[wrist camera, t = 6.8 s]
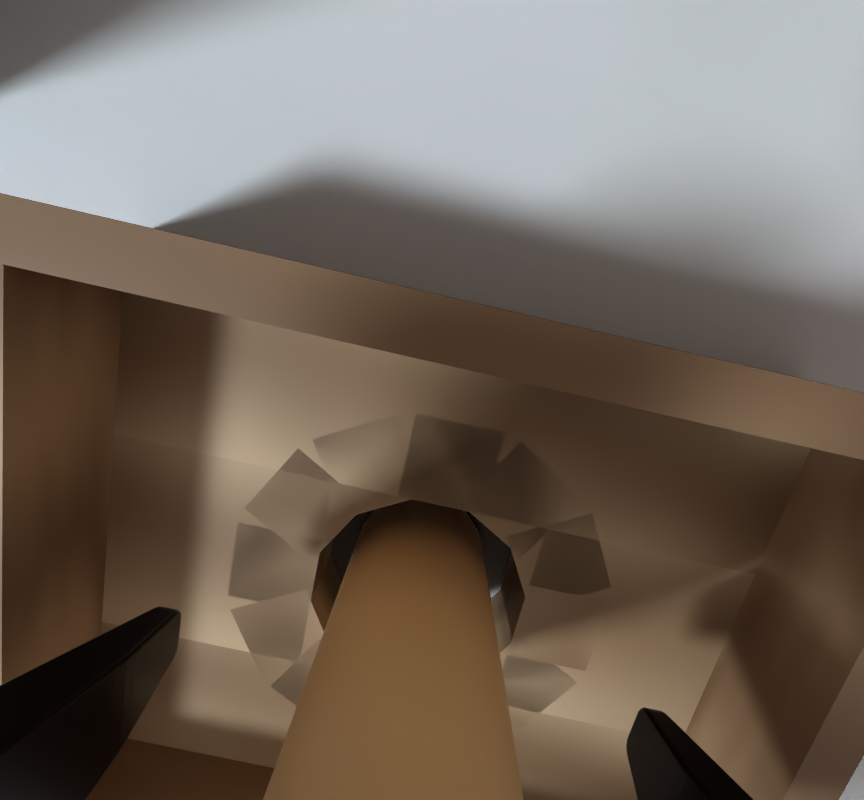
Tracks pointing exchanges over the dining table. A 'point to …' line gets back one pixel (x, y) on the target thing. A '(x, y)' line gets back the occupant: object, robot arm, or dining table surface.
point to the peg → (405, 674)
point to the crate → (423, 481)
